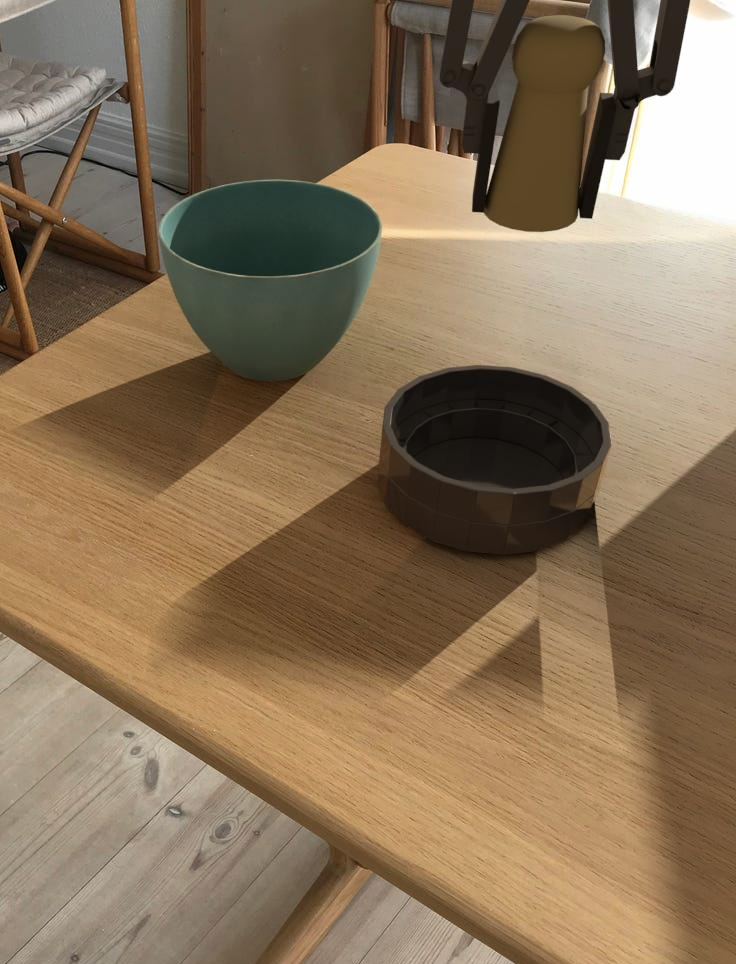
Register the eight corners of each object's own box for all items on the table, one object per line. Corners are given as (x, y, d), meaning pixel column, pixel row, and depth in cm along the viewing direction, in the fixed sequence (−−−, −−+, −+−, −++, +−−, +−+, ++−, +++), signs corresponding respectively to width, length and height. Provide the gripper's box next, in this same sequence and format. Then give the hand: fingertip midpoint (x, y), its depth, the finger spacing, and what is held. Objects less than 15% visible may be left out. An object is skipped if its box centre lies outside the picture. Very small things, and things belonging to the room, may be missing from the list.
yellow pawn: (558, 240, 64) (597, 42, 56) (467, 218, 66) (493, 26, 59) (591, 204, 68) (633, 14, 60) (504, 185, 70) (533, -1, 62)
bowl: (585, 438, 84) (602, 373, 80) (600, 570, 73) (620, 502, 69) (385, 423, 86) (390, 358, 82) (369, 549, 75) (375, 482, 71)
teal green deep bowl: (293, 439, 84) (295, 298, 76) (127, 369, 92) (111, 234, 84) (410, 346, 94) (423, 212, 86) (251, 290, 102) (249, 162, 94)
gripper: (414, -262, 49) (378, 223, 65) (840, -261, 47) (691, 241, 63) (422, -277, 54) (387, 175, 71) (805, -278, 52) (676, 190, 68)
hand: (531, 205), depth 67 cm, fingers closed on yellow pawn, 6 cm apart
